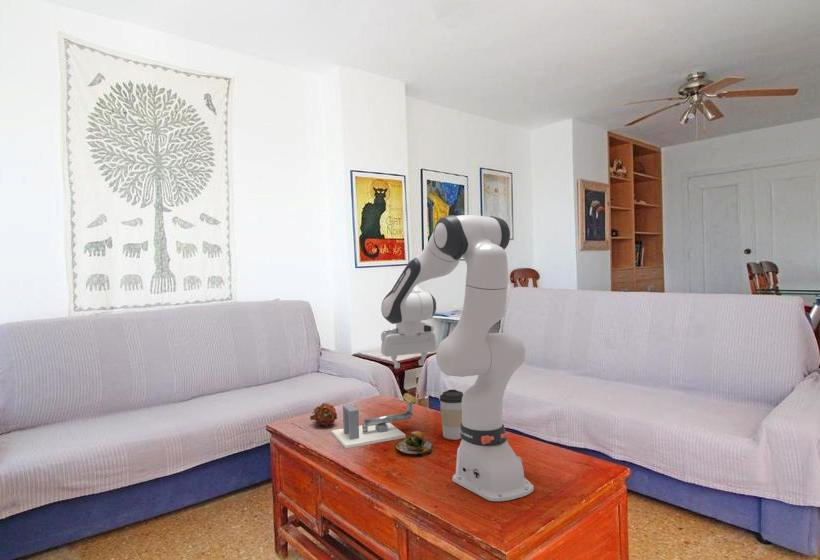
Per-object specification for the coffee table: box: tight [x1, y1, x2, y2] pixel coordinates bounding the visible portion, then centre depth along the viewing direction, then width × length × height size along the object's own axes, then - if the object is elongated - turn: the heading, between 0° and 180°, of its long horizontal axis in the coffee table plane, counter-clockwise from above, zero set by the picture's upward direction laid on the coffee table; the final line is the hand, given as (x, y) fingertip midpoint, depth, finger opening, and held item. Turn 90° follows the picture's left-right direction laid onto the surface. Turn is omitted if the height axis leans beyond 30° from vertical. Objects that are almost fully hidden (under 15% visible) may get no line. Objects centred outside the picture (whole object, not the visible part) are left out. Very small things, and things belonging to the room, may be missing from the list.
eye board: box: [331, 403, 407, 450], centre depth 168 cm, size 21×16×10 cm
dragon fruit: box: [309, 402, 338, 427], centre depth 180 cm, size 8×8×12 cm
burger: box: [394, 425, 434, 457], centre depth 154 cm, size 12×12×8 cm
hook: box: [361, 392, 418, 432], centre depth 171 cm, size 19×6×10 cm, turn 115°
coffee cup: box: [438, 389, 464, 440], centre depth 166 cm, size 9×9×15 cm
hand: (409, 366), depth 174 cm, fingers open, 8 cm apart
